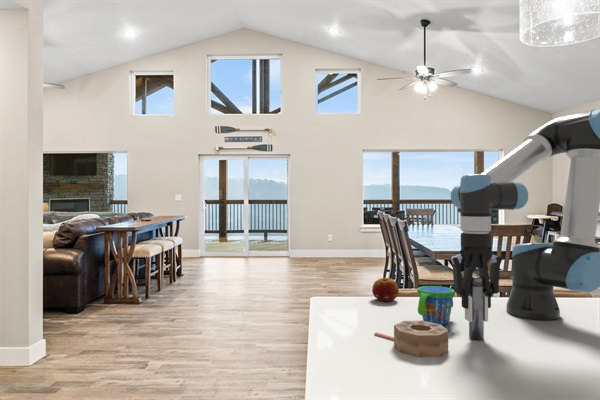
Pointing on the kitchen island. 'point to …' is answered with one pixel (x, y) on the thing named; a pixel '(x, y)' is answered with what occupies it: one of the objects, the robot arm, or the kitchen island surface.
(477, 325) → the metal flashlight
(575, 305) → the kitchen island surface
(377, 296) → the fruit
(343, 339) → the kitchen island surface
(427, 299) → the snack cup
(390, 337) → the pink stick
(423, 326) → the bead
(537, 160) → the robot arm
